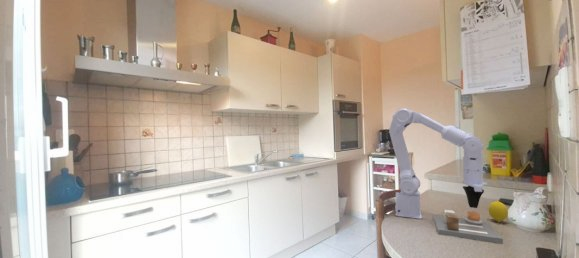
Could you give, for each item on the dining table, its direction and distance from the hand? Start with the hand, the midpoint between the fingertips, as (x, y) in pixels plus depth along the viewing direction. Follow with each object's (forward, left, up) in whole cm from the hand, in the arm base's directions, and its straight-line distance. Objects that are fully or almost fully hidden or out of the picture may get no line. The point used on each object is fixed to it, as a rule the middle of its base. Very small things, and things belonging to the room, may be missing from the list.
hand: (473, 207), depth 88 cm
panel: (-4, -5, -7) cm, 9 cm away
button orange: (0, 0, -4) cm, 4 cm away
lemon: (+10, +9, -7) cm, 15 cm away
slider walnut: (-8, -10, -5) cm, 14 cm away
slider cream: (-8, -4, -5) cm, 10 cm away
